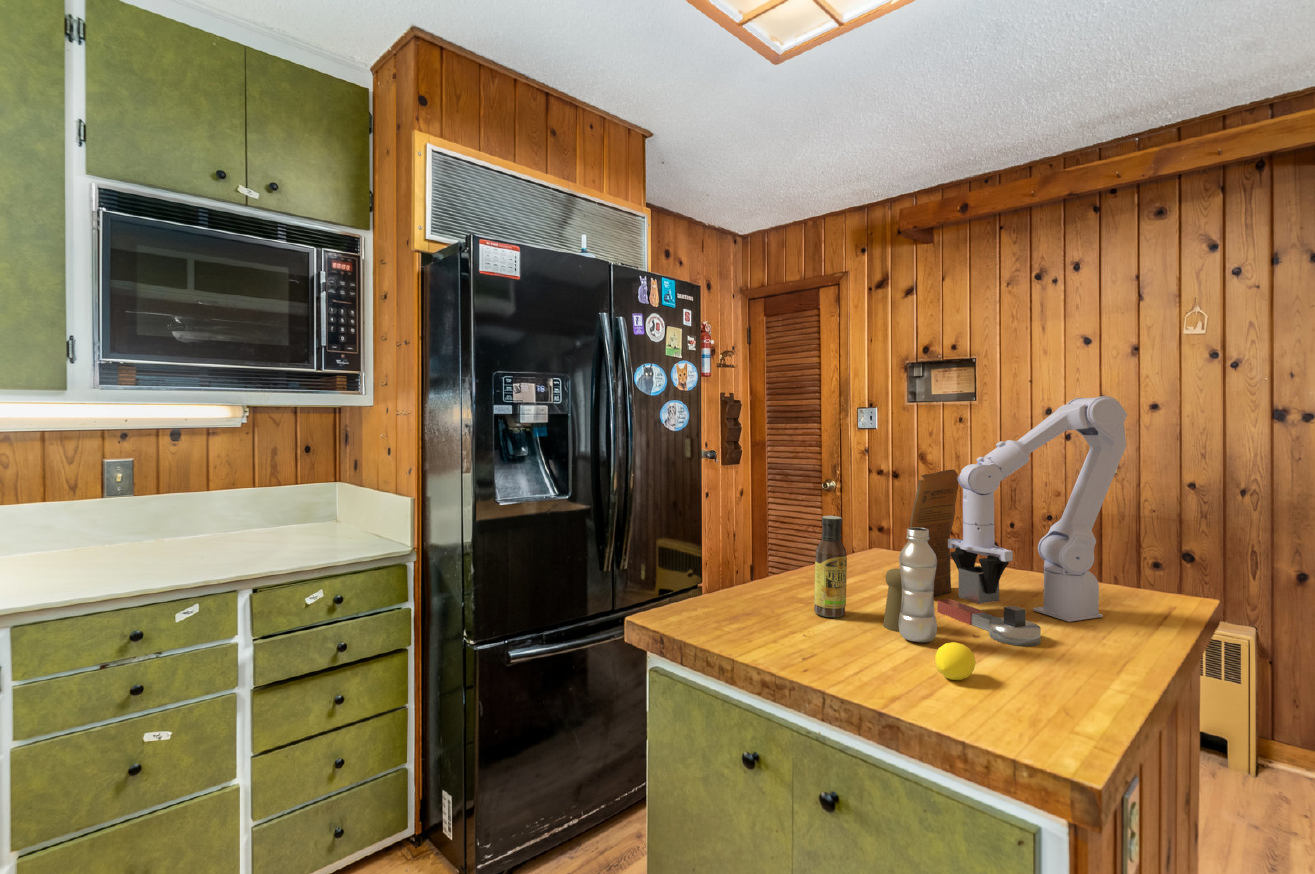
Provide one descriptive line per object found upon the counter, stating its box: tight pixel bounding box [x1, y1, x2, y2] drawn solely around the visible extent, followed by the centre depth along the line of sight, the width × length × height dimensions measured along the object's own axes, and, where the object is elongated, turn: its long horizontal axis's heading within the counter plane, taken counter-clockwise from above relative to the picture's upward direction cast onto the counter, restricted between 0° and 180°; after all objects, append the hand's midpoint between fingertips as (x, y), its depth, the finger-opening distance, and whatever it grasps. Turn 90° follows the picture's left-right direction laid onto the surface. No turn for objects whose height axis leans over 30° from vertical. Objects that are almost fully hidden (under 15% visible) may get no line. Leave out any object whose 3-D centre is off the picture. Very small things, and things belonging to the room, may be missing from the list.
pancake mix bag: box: [909, 469, 960, 598], centre depth 140 cm, size 7×19×28 cm, turn 124°
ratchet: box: [937, 598, 1042, 647], centre depth 118 cm, size 8×21×6 cm, turn 18°
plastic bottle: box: [898, 527, 938, 643], centre depth 111 cm, size 6×7×20 cm
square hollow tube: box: [958, 565, 1000, 605], centre depth 127 cm, size 5×5×6 cm
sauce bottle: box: [813, 515, 848, 618], centre depth 126 cm, size 6×6×20 cm
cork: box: [882, 568, 902, 633], centre depth 118 cm, size 6×6×11 cm
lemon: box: [934, 641, 977, 681], centre depth 95 cm, size 7×5×5 cm
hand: (978, 589), depth 127 cm, fingers closed on square hollow tube, 5 cm apart
